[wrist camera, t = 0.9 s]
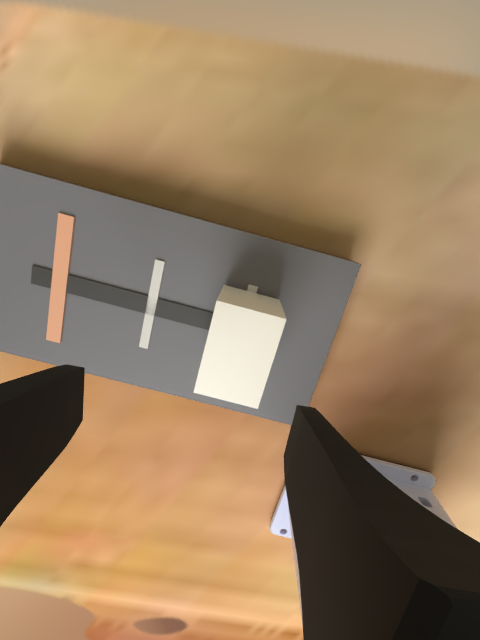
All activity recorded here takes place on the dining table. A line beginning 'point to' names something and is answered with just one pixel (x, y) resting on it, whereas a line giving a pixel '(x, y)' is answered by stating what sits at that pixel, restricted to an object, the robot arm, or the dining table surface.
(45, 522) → the dining table surface
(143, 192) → the dining table surface
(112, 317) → the slider panel
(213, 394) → the slider knob
